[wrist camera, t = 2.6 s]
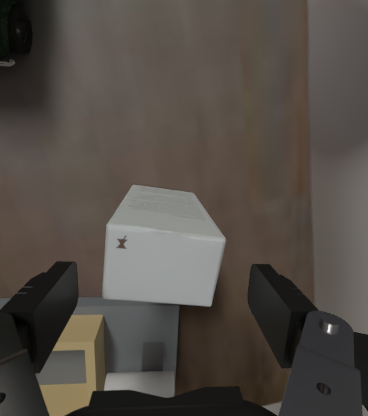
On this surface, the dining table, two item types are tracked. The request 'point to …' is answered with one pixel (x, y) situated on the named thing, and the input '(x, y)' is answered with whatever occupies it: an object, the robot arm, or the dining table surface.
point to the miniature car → (13, 31)
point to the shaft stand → (111, 352)
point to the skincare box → (162, 249)
